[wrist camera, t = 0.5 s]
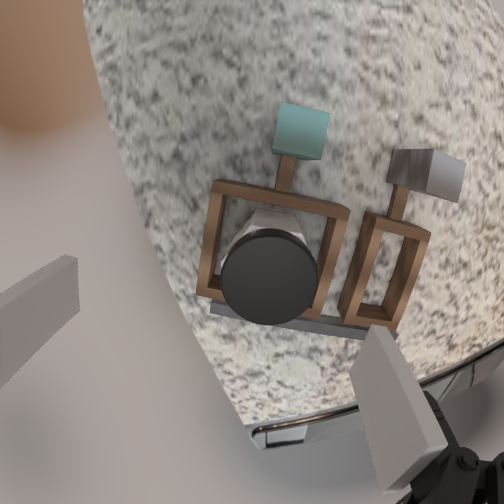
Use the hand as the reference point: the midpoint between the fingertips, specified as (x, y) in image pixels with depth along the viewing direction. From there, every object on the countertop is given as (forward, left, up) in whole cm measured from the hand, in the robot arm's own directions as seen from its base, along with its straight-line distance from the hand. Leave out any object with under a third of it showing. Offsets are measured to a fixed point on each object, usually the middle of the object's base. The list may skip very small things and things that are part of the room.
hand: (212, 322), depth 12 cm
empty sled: (-1, +17, -24) cm, 29 cm away
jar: (+3, +3, -24) cm, 25 cm away
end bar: (+12, +10, -24) cm, 28 cm away
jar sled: (-1, +3, -24) cm, 24 cm away
